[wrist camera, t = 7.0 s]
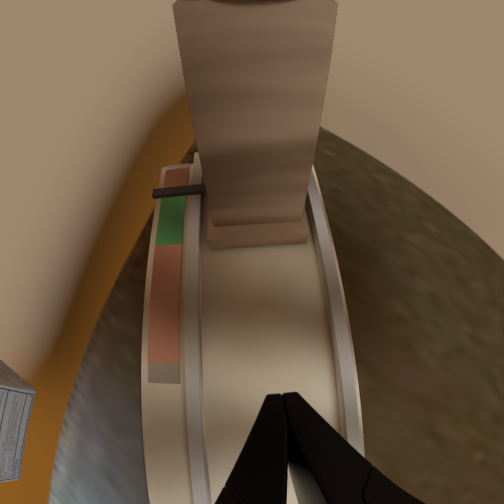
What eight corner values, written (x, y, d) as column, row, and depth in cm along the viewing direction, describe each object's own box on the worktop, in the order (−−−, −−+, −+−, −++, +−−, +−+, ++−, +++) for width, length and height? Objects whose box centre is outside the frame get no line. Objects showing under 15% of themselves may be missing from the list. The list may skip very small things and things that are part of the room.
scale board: (358, 505, 10) (372, 517, 8) (160, 516, 9) (146, 530, 8) (308, 169, 20) (312, 146, 18) (166, 178, 20) (158, 157, 18)
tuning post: (307, 243, 15) (365, -39, 4) (155, 253, 15) (39, 3, 3) (291, 165, 18) (309, -46, 6) (165, 174, 18) (111, -26, 6)
